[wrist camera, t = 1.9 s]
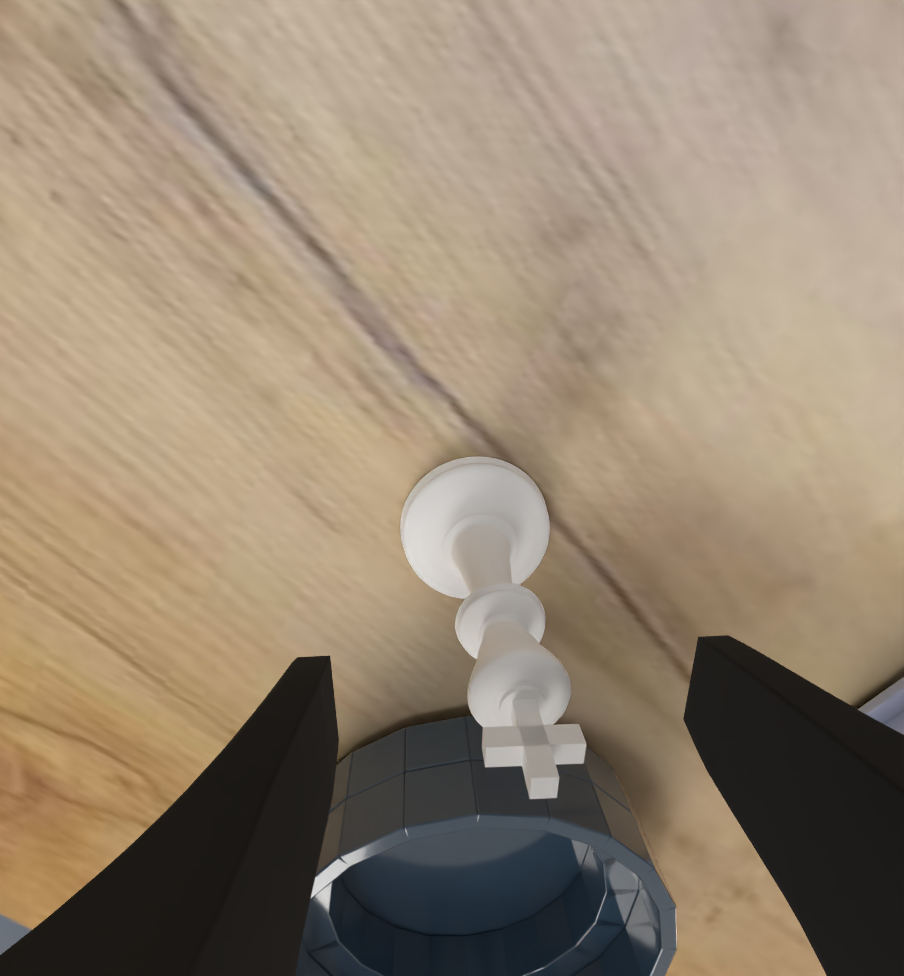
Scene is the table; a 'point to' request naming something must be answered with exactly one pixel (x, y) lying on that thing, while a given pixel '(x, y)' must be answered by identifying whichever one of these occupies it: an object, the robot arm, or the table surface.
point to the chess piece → (496, 608)
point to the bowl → (481, 868)
